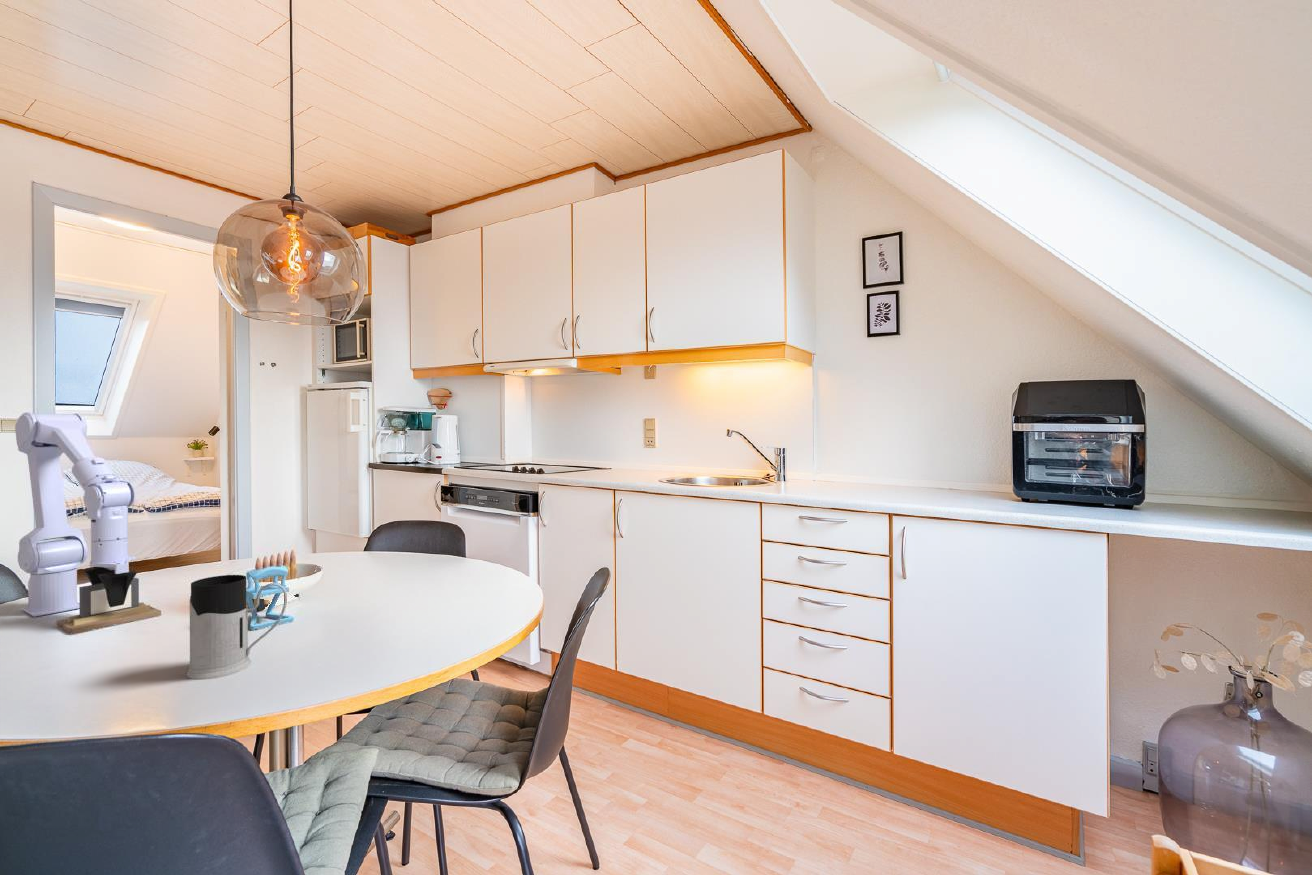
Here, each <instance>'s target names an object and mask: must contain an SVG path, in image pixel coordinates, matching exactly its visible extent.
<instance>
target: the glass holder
mask: <svg viewBox="0 0 1312 875" xmlns="http://www.w3.org/2000/svg"><path fill="white" fill-rule="evenodd" d="M267 586H278V587H280V588H281V589H282V590H283V592H284V604H283V606H282V610H281V612H280V613H279V614H280V616H279V618H278V619H276V620H277V621H276V623H275V624H274V625H273V626H271V627H269V629H268V630H267V631H265V633H263V634H262V635H260V636H259V637H258V638H257V639H256V640H254V642H252V643H251V644H250V645H249V644H248V643H249V638H248V636H249V629H248V625H249V623H248V621H249V620H248V619H249V617H248V615H249V614H248V613H249V612H251V610H254V609H256V608H257V607H258V605H259V599H260V594H261V592H262V590H263V589H264V588H266V587H267ZM246 589H247V576H246V575H242V574H224V575H215V576H210V577H204V578H200V579H197V580H194V581H193V582H191V583H190V597H189V669H188V670H187V672H186V677H187V678H188V679H191V680H209V679H217V678H222V677H225V676H231V675H234V674H236V673H239V672H240V671H243V670H245V669H247V668H248V667H249V666H251V665H252V660H251V659H250V657H249V655H250V652H251V649H252V648H253V646H255V645H256V644H257V643H258V642H260V641H261V640H262V639H263V638H265V637H266V636H267V635H269V633H270V632H272V631H273V630H274V629H275V628H276V626H278V625H277V624H278V623H279V621H280V620H281V618H282V616H283V615H285V610H286V607H287V604H288V603H287V593H286V590H285V588H284V587H283V586H282V585H280V584H276V583H270V584H267V585H265V586H263V587H262V588H261V589H260V590H259V592H258V594H257V598H256V606H255V607H253V608H249V605H247V598H246Z"/></svg>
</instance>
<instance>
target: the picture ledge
mask: <svg viewBox="0 0 1312 875" xmlns="http://www.w3.org/2000/svg"><path fill="white" fill-rule="evenodd" d="M159 615H161V616H162V610H161V609H159V608H156V607H152V606H151V605H150V604H145V603H144V602H142V601H141V602H139V607H135V608H130V609H125V610H120V611H115V612H110V613H105V614H100V615H95V616H90V617H85V618H80V614H75V615H70V616H67V617H66V618H63V619H59V620H56V621H55V622H56V623H55V624H56V625H57V626H56V627H58V628H60V629H61V628H62V630H63V629H64V630H63V631H65V630H66V631H65V632H67V633H68V632H69V633H68V634H70V633H72V634H73V635H75V634H74V633H77V634H82V633H85V632H84V631H87V632H89V631H88V630H91V631H93V630H92V629H96V630H100V629H99V628H101V629H104V628H103V627H105V628H108V627H107V626H110V627H112V626H111V625H114V624H119V625H123V624H122V623H124V624H127V623H126V622H128V623H131V622H130V621H133V622H135V621H134V620H137V621H142V620H146V619H145V618H147V619H150V618H149V617H151V618H154V617H153V616H156V617H160V616H159ZM141 619H142V620H141ZM114 626H115V625H114ZM81 632H82V633H81ZM72 634H71V635H72Z"/></svg>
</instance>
